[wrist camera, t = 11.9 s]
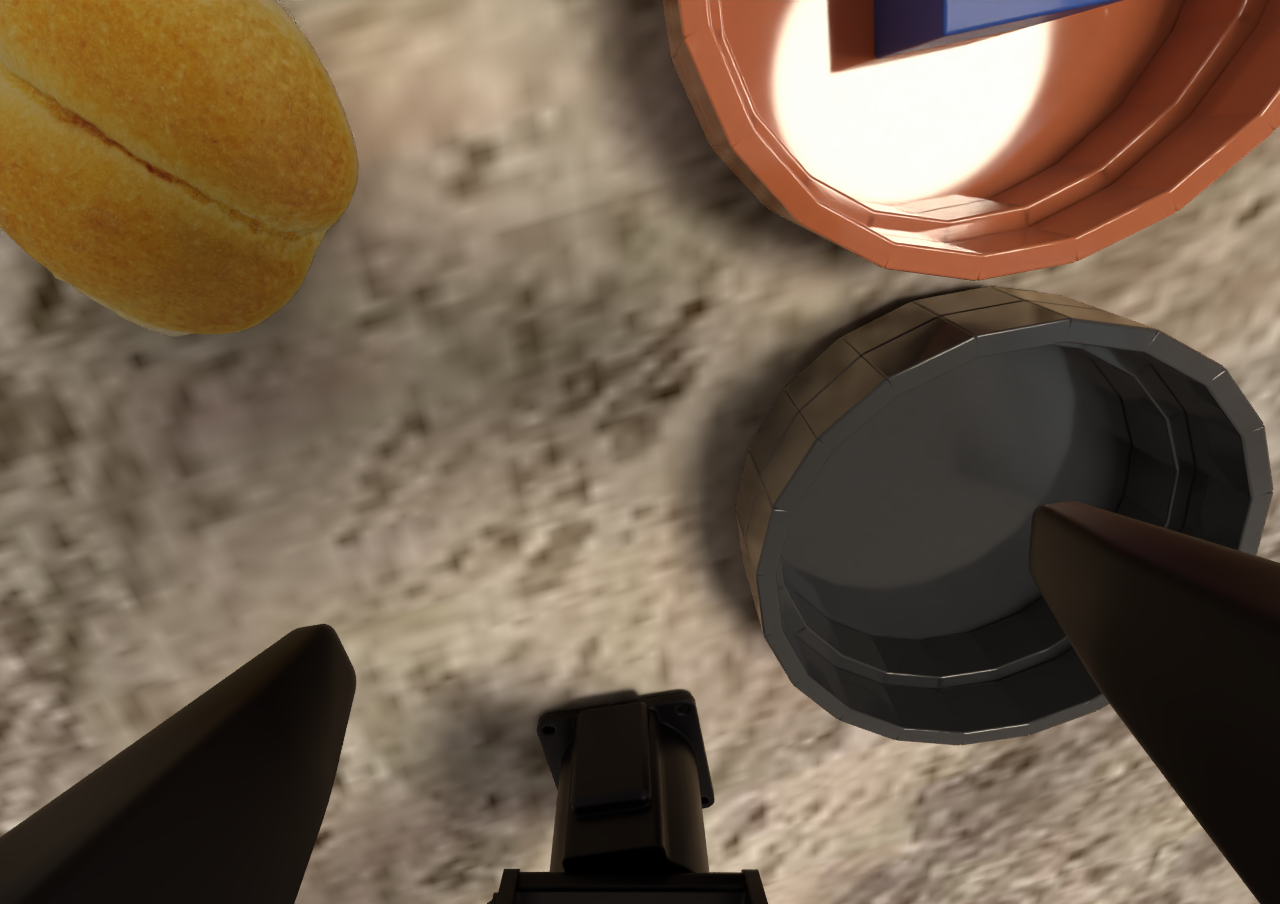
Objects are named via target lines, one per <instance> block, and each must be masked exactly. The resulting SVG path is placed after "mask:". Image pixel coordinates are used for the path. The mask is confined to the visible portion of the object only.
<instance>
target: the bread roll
mask: <svg viewBox="0 0 1280 904" xmlns="http://www.w3.org/2000/svg"><path fill="white" fill-rule="evenodd" d="M357 180H358V159H357V152H356V147H355V143H354V139H353V135H352V132H351V129H350V126H349V123H348V121H347V118H346V115H345V112H344V110H343V107H342V105H341V102H340V100H339V97H338V95H337V92H336V90H335V88H334V86H333V84H332V81H331V79H330V77H329V75H328V73H327V71H326V69H325V68H324V66H323V64H322V63H321V61H320V59H319V58H318V56H317V54H316V52H315V51H314V49H313V47H312V46H311V44H310V42H309V41H308V39H307V38H306V36H305V35H304V34H303V32H302V31H301V30H300V28H299V27H298V26H297V25H296V23H295V22H294V21H293V19H292V18H291V17H290V15H289V14H288V13H287V12H286V11H285V10H284V8H283V7H282V6H281V5H280V4H279V3H278V2H277V1H275V0H0V227H1V228H2V229H3V230H4V231H5V232H6V233H7V234H8V235H9V236H10V237H11V238H12V239H13V240H14V241H15V242H16V243H17V244H18V245H19V246H20V247H21V248H22V249H23V250H24V251H25V252H26V253H28V254H29V255H30V256H31V257H32V258H33V259H35V260H36V261H38V262H39V263H40V264H42V265H43V266H44V267H46V268H47V269H48V270H50V271H51V272H52V273H53V275H54V277H55V278H57V279H59V280H62V281H64V282H67V283H69V284H70V285H72V286H73V287H74V288H75V289H76V290H77V291H78V292H80V293H82V294H85V295H86V296H88V297H89V298H90V299H92V300H93V301H95V302H97V303H99V304H101V305H103V306H105V307H107V308H108V309H110V310H112V311H114V312H115V313H117V314H118V315H119V316H121V317H122V318H124V319H126V320H128V321H130V322H132V323H134V324H136V325H139V326H143V327H144V328H146V329H149V330H153V331H155V332H158V333H161V334H164V335H168V336H174V337H177V336H183V335H188V334H191V333H196V334H225V333H234V332H238V331H242V330H245V329H248V328H251V327H254V326H255V325H257V324H259V323H261V322H262V321H264V320H265V319H267V318H268V317H269V316H271V315H272V314H274V313H275V312H276V311H278V310H279V309H280V308H281V307H283V306H284V305H285V304H286V303H287V302H288V301H290V299H291V298H292V297H293V296H294V294H295V293H296V292H297V290H298V289H299V288H300V287H301V285H302V283H303V280H304V278H305V276H306V274H307V272H308V269H309V267H310V265H311V263H312V260H313V257H314V254H315V251H316V249H317V247H318V246H319V244H320V242H321V241H322V239H323V237H324V235H325V234H326V232H327V230H328V229H329V228H330V227H331V226H332V225H334V224H335V223H336V222H337V221H338V220H339V218H340V217H341V215H342V214H343V213H344V211H345V210H346V208H347V207H348V205H349V203H350V201H351V198H352V196H353V193H354V190H355V187H356V183H357Z"/></svg>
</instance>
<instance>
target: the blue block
mask: <svg viewBox="0 0 1280 904" xmlns="http://www.w3.org/2000/svg"><path fill="white" fill-rule="evenodd" d="M1119 1H1123V0H874V30H875V56H876V58H884V57H889V56H894V55H898V54H903V53H908V52H913V51H917V50H922V49H927V48H931V47H936V46H941V45H946V44H950V43H955V42H960V41H965V40H969V39H974V38H979V37H983V36H988V35H993V34H998V33H1002V32H1007V31H1012V30H1017V29H1021V28H1026V27H1031V26H1035V25H1038V24H1042V23H1045V22H1049V21H1052V20H1056V19H1059V18H1063V17H1067V16H1070V15H1074V14H1077V13H1081V12H1084V11H1088V10H1091V9H1095V8H1098V7H1102V6H1105V5H1109V4H1112V3H1116V2H1119Z"/></svg>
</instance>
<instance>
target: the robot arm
mask: <svg viewBox="0 0 1280 904" xmlns="http://www.w3.org/2000/svg"><path fill="white" fill-rule="evenodd" d="M1028 564H1029V570H1030V574H1031V576H1032V579H1033V581H1034V583H1035V584H1036V586H1037V588H1038V589H1039V591H1040V593H1041V594H1042V596H1043V598H1044V599H1045V601H1046V603H1047V604H1048V606H1049V608H1050V609H1051V611H1052V613H1053V614H1054V616H1055V618H1056V619H1057V621H1058V623H1059V624H1060V626H1061V628H1062V629H1063V631H1064V633H1065V634H1066V636H1067V638H1068V639H1069V641H1070V643H1071V644H1072V646H1073V648H1074V649H1075V651H1076V653H1077V654H1078V656H1079V658H1080V659H1081V661H1082V663H1083V664H1084V666H1085V668H1086V669H1087V671H1088V673H1089V674H1090V676H1091V677H1092V679H1093V680H1094V682H1095V683H1096V685H1097V687H1098V688H1099V689H1100V691H1101V692H1102V694H1103V695H1104V696H1105V698H1106V699H1107V701H1108V702H1109V703H1110V705H1111V706H1112V708H1113V709H1114V710H1115V712H1116V713H1117V714H1118V716H1119V717H1120V718H1121V720H1122V721H1123V722H1124V723H1125V725H1126V726H1127V727H1128V729H1129V730H1130V731H1131V733H1132V734H1133V735H1134V737H1135V738H1136V739H1137V741H1138V742H1139V743H1140V745H1141V746H1142V747H1143V749H1144V750H1145V751H1146V753H1147V754H1148V755H1149V757H1150V758H1151V759H1152V761H1153V762H1154V763H1155V765H1156V766H1157V767H1158V769H1159V770H1160V771H1161V773H1162V774H1163V775H1164V777H1165V778H1166V779H1167V781H1168V782H1169V783H1170V785H1171V786H1172V787H1173V789H1174V790H1175V791H1176V793H1177V794H1178V795H1179V797H1180V798H1181V799H1182V801H1183V802H1184V803H1185V805H1186V806H1187V807H1188V809H1189V810H1190V811H1191V813H1192V814H1193V815H1194V817H1195V818H1196V819H1197V821H1198V822H1199V823H1200V825H1201V826H1202V827H1203V829H1204V830H1205V831H1206V833H1207V834H1208V835H1209V837H1210V838H1211V839H1212V841H1213V842H1214V843H1215V845H1216V846H1217V847H1218V849H1219V850H1220V851H1221V853H1222V854H1223V855H1224V857H1225V858H1226V859H1227V860H1228V862H1229V863H1230V864H1231V866H1232V867H1233V868H1234V870H1235V871H1236V872H1237V874H1238V875H1239V876H1240V878H1241V879H1242V880H1243V882H1244V883H1245V884H1246V886H1247V887H1248V888H1249V890H1250V891H1251V892H1252V894H1253V895H1254V896H1255V898H1256V899H1257V900H1258V902H1259V903H1260V904H1280V563H1278V562H1274V561H1271V560H1268V559H1265V558H1261V557H1258V556H1255V555H1251V554H1248V553H1245V552H1242V551H1238V550H1235V549H1232V548H1228V547H1225V546H1222V545H1219V544H1215V543H1212V542H1209V541H1205V540H1202V539H1199V538H1196V537H1192V536H1189V535H1186V534H1182V533H1179V532H1176V531H1173V530H1169V529H1166V528H1163V527H1159V526H1156V525H1153V524H1150V523H1146V522H1143V521H1140V520H1136V519H1133V518H1130V517H1126V516H1123V515H1120V514H1117V513H1113V512H1110V511H1107V510H1103V509H1100V508H1097V507H1094V506H1090V505H1087V504H1084V503H1080V502H1077V501H1063V502H1057V503H1051V504H1045V505H1040V506H1039V507H1037V508H1036V509H1035V511H1034V513H1033V516H1032V523H1031V534H1030V546H1029V558H1028ZM355 689H356V675H355V671H354V668H353V666H352V664H351V662H350V660H349V658H348V655H347V653H346V651H345V649H344V647H343V645H342V643H341V641H340V639H339V637H338V635H337V633H336V632H335V630H334V629H333V628H332V627H331V626H330V625H327V624H319V625H313V626H307V627H301V628H297V629H295V630H293V631H291V632H290V633H288V634H287V635H286V636H284V637H283V638H281V639H280V640H279V641H277V642H276V643H274V644H273V645H272V646H270V647H269V648H267V649H266V650H264V651H263V652H262V653H260V654H259V655H257V656H256V657H255V658H253V659H252V660H250V661H249V662H248V663H246V664H245V665H243V666H242V667H240V668H239V669H238V670H236V671H235V672H233V673H232V674H231V675H229V676H228V677H226V678H225V679H223V680H222V681H221V682H219V683H218V684H216V685H215V686H214V687H212V688H211V689H209V690H208V691H207V692H205V693H204V694H202V695H201V696H199V697H198V698H197V699H195V700H194V701H192V702H191V703H190V704H188V705H187V706H185V707H184V708H183V709H181V710H180V711H178V712H177V713H175V714H174V715H173V716H171V717H170V718H168V719H167V720H166V721H164V722H163V723H161V724H160V725H158V726H157V727H156V728H154V729H153V730H151V731H150V732H149V733H147V734H146V735H144V736H143V737H142V738H140V739H139V740H137V741H136V742H134V743H133V744H132V745H130V746H129V747H127V748H126V749H125V750H123V751H122V752H120V753H119V754H118V755H116V756H115V757H113V758H112V759H110V760H109V761H108V762H106V763H105V764H103V765H102V766H101V767H99V768H98V769H96V770H95V771H94V772H92V773H91V774H89V775H88V776H86V777H85V778H84V779H82V780H81V781H79V782H78V783H77V784H75V785H74V786H72V787H71V788H69V789H68V790H67V791H65V792H64V793H62V794H61V795H60V796H58V797H57V798H55V799H54V800H53V801H51V802H50V803H48V804H47V805H45V806H44V807H43V808H41V809H40V810H38V811H37V812H36V813H34V814H33V815H31V816H30V817H29V818H27V819H26V820H24V821H23V822H21V823H20V824H19V825H17V826H16V827H14V828H13V829H12V830H10V831H9V832H7V833H6V834H4V835H3V836H2V837H0V904H294V903H295V900H296V897H297V894H298V891H299V888H300V885H301V883H302V880H303V877H304V874H305V871H306V868H307V865H308V862H309V859H310V856H311V853H312V850H313V847H314V845H315V842H316V839H317V836H318V833H319V830H320V827H321V824H322V821H323V818H324V815H325V812H326V808H327V805H328V802H329V798H330V795H331V791H332V787H333V783H334V779H335V775H336V771H337V767H338V762H339V758H340V754H341V750H342V745H343V741H344V737H345V733H346V728H347V724H348V720H349V715H350V711H351V707H352V703H353V698H354V694H355ZM681 705H687V706H684V707H681ZM548 726H552V727H548ZM537 733H538V736H539V739H540V742H541V744H542V747H543V750H544V753H545V756H546V758H547V761H548V764H549V767H550V770H551V773H552V775H553V778H554V781H555V784H556V787H557V790H558V796H557V805H556V815H555V825H554V834H553V844H552V854H551V863H550V872H520V869H504V871H503V875H502V879H501V884H500V888H499V892H498V893H494V895H493V898H492V900H491V901H490V902H488V903H487V904H768V902H767V899H766V895H765V892H764V888H763V885H762V881H761V878H760V875H759V871H758V870H742V872H741V873H730V872H709V865H708V856H707V847H706V839H705V830H704V821H703V813H702V809H703V808H707V807H710V806H711V805H713V803H714V792H713V787H712V782H711V777H710V772H709V767H708V762H707V757H706V752H705V747H704V742H703V738H702V733H701V728H700V723H699V718H698V713H697V708H696V703H695V699H694V697H693V696H692V695H690V694H687V693H677V694H671V695H664V696H658V697H651V698H645V699H638V700H632V701H625V702H619V703H612V704H606V705H599V706H593V707H586V708H580V709H573V710H567V711H560V712H554V713H547V714H544V715H542V716H541V717H540V718H539V720H538V724H537Z"/></svg>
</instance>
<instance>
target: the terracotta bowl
mask: <svg viewBox="0 0 1280 904" xmlns="http://www.w3.org/2000/svg"><path fill="white" fill-rule="evenodd" d="M663 7H664V14H665V21H666V28H667V35H668V42H669V49H670V56H671V59H672V60H673V65H674V68H675V70H676V72H677V74H678V76H679V79H680V81H681V83H682V85H683V88H684V90H685V92H686V94H687V96H688V99H689V101H690V103H691V105H692V108H693V110H694V112H695V114H696V116H697V119H698V121H699V123H700V125H701V127H702V130H703V132H704V134H705V136H706V139H707V141H708V143H709V144H710V145H712V146H711V148H712V149H713V151H714V152H715V153H716V154H717V155H718V156H719V157H720V158H721V159H722V160H723V162H724V163H725V164H726V165H727V166H728V167H729V168H730V169H731V170H732V171H733V172H734V174H735V175H736V176H737V177H738V178H739V179H740V180H741V181H742V182H743V183H744V185H745V186H746V187H747V188H748V189H749V190H750V191H751V192H752V193H753V194H754V195H755V197H756V198H757V199H758V200H759V201H760V202H761V203H762V204H763V205H764V206H765V207H766V208H768V209H769V210H770V211H772V212H774V213H776V214H777V215H779V216H781V217H783V218H785V219H787V220H789V221H791V222H793V223H795V224H796V225H798V226H800V227H802V228H804V229H806V230H808V231H810V232H812V233H814V234H815V235H817V236H819V237H821V238H823V239H825V240H827V241H829V242H831V243H833V244H835V245H837V246H839V247H841V248H843V249H845V250H847V251H849V252H851V253H853V254H855V255H857V256H859V257H861V258H863V259H865V260H867V261H869V262H871V263H873V264H875V265H877V266H879V267H883V268H885V269H891V270H898V271H906V272H913V273H921V274H928V275H936V276H943V277H950V278H958V279H965V280H973V281H975V280H984V279H989V278H994V277H1000V276H1005V275H1010V274H1016V273H1021V272H1026V271H1032V270H1037V269H1042V268H1048V267H1053V266H1058V265H1064V264H1069V263H1073V262H1075V261H1079V260H1081V259H1083V258H1085V257H1087V256H1089V255H1091V254H1093V253H1095V252H1097V251H1099V250H1101V249H1103V248H1105V247H1107V246H1109V245H1111V244H1113V243H1115V242H1117V241H1119V240H1121V239H1123V238H1126V237H1128V236H1130V235H1132V234H1134V233H1136V232H1138V231H1140V230H1142V229H1144V228H1146V227H1148V226H1150V225H1152V224H1154V223H1156V222H1158V221H1160V220H1162V219H1164V218H1166V217H1168V216H1170V215H1172V214H1174V213H1175V211H1178V210H1180V209H1181V208H1183V207H1184V206H1185V205H1186V204H1187V203H1189V202H1190V201H1191V200H1192V199H1193V198H1195V197H1196V196H1197V195H1198V194H1200V193H1201V192H1202V191H1203V190H1204V189H1206V188H1207V187H1208V186H1209V185H1210V184H1212V183H1213V182H1214V181H1215V180H1216V179H1218V178H1219V177H1220V176H1221V175H1222V174H1224V173H1225V172H1226V171H1227V170H1229V169H1230V168H1231V167H1232V166H1233V165H1235V164H1236V163H1237V162H1238V161H1239V160H1241V159H1242V158H1243V157H1244V156H1245V155H1247V154H1248V153H1249V152H1250V151H1252V150H1253V149H1254V148H1255V147H1256V146H1258V145H1259V144H1260V143H1261V142H1262V141H1264V140H1265V139H1266V138H1267V137H1268V136H1270V135H1271V134H1272V133H1273V130H1276V129H1277V128H1278V127H1279V126H1280V0H1123V1H1119V2H1116V3H1112V4H1109V5H1105V6H1102V7H1098V8H1095V9H1091V10H1088V11H1084V12H1081V13H1077V14H1074V15H1070V16H1067V17H1063V18H1059V19H1056V20H1052V21H1049V22H1045V23H1042V24H1038V25H1035V26H1031V27H1026V28H1021V29H1017V30H1012V31H1007V32H1002V33H998V34H993V35H988V36H983V37H979V38H974V39H969V40H965V41H960V42H955V43H950V44H946V45H941V46H936V47H931V48H927V49H922V50H917V51H913V52H908V53H903V54H898V55H894V56H889V57H884V58H876V56H875V30H874V0H663Z"/></svg>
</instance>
